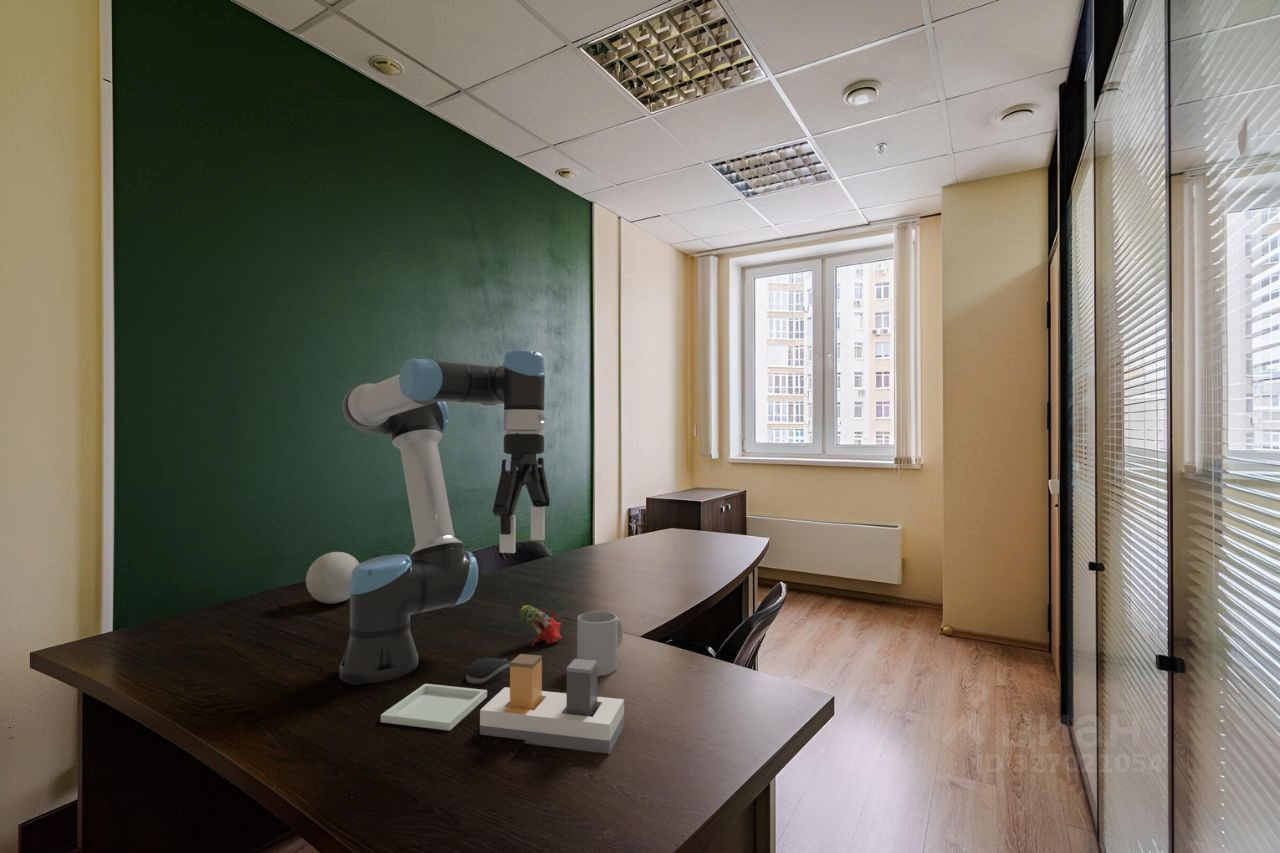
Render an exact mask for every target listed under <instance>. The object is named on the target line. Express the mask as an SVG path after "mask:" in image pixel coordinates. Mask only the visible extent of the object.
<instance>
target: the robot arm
mask: <svg viewBox="0 0 1280 853" xmlns="http://www.w3.org/2000/svg"><path fill="white" fill-rule="evenodd" d="M503 358H504V359H503V362H502V365H496V366H490V365H482V364H470V363H460V362H453V361H445V360H433V359H429V358H421V359H420V358H419V359H418V358H411V359H408V360H406V361H405V362H404V363H403V366H401V369H400V372H399V374H397V375H394V376H391V377H389V378H386V379H384V380H382V381H380V382H379V381H378V382H377V383H370V382H369V383H368V382H367V383H363V384H359V385H357V386H355V387H353V388H352V389H350V390H349V391H348V392H347V393H346V395H345V396H344V398H343V401H342V412H343V416H344V417H345V419H346V420H347V422H348V423H349V425H351V426H352V427H354V428H355V429H357V430H359V431H360V432H363V433H367V434H371V435H385V436H386V435H389V436H391V443H392V445H393V447H395V448H397V449H399V450H400V456H401V462H402V466H403V473H404V478H405V479H404V481H405V485H406V491H407V497H408V504H409V509H410V510H409V511H410V518H411V524H412V528H413V536H414V542H415V545H414V548H413V549H412V551H411V552H410V554H405V553H404V554H403V553H395V554H390V555H389V554H388V555H387V554H386V555H381V556H378V557H373V558H369V559H367V560H364V561H362V562H359V563H360V564H359V565H357V566H356V567H355V568H354V569H353V571H352V573H351V583H350V587H349V592H350V598H349V639H348V641H347V645H346V647H345V650H344V653H343V655H342V659H341V661H340V664H339V679H340V681H342V682H343V683H345V684H349V685H356V686H363V685H364V684H372V683H373V684H375V683H381V682H387V681H391V680H395V679H399V678H401V677H403V676H406V675H408V674H410V673H411V672H413V671H414V670H416V668H418V666H419V652H418V651H417V648H416V645H415V642H414V638H413V635H412V632H411V616H412V615H416V614H420V613H425V612H430V611H434V610H439V609H444V608H451V607H454V606H456V605H461V604H464V603H466V602H467V601H469V600H470V599H471V598H472V597H473V595H474V593H475V592H476V588H477V585H478V582H479V580H478V579H479V566H478V562H477V559H476V557H475V556H474V554H473V553H472V552H470V551H467V550H464V545H463V544H464V543H463V541H461V540H460V539H458V538H457V537H455V532H454V528H453V522H452V516H451V515H452V514H451V510H450V506H449V505H450V504H449V501H448V500H449V499H448V495H447V494H448V493H447V489H446V483H445V479H444V478H445V476H444V472H443V466H442V462H441V457H440V451H439V449H440V448H439V445H438V444H439V442H440V441H441V440H442V439H443V434H444V432H446V430H447V428H448V425H449V421H448V419H449V408H448V405H447V403H446V402H448V403H449V402H452V403H453V402H455V403H468V404H469V403H470V404H477V405H478V404H479V405H482V406H496V405H500V404H503V431H505V432H506V434H504V435H503V452H504V453H505V454H506V455H510V456H511V457H510V459H502V461H501V472H500V477H499V481H498V485H497V490H496V494H495V498H494V503H493V508H492V512H493V515H494V516H496V517H498V516H499V553H503V554H506V553H507V554H515V553H516V552H517V551H516V549H517V548H516V542H517V541H516V535H517V534H516V531H517V529H516V526H517V525H516V524H517V522H516V521H517V515H514V513H515V510H516V506H517V503H518V501H519V498H520V495H521V493H522V492H521V491H522V489H523V486H525V487H526V489H527V492H528V495H529V498H530V500H531V504H532V505H533V506H531V507H530V540H531V541H545V539H546V538H545V535H546V534H545V533H546V529H545V528H546V511H545V510H546V508H545V507H550V505H551V503H550V494H549V488H548V482H547V478H546V477H547V476H546V472H545V462H544V458H543V457H537V455H540V454H543V453H544V452H545V436H544V434H541V432H543V431H544V430H545V420H546V419H547V416H546V415H545V386H546V385H545V384H546V383H545V382H546V381H545V377H546V372H545V360H544V355H543V354H541V353H540V352H538V351H533V350H522V349H519V350H518V349H516V350H510V351H507V352H506V353H505V354H504V357H503Z"/></svg>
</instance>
